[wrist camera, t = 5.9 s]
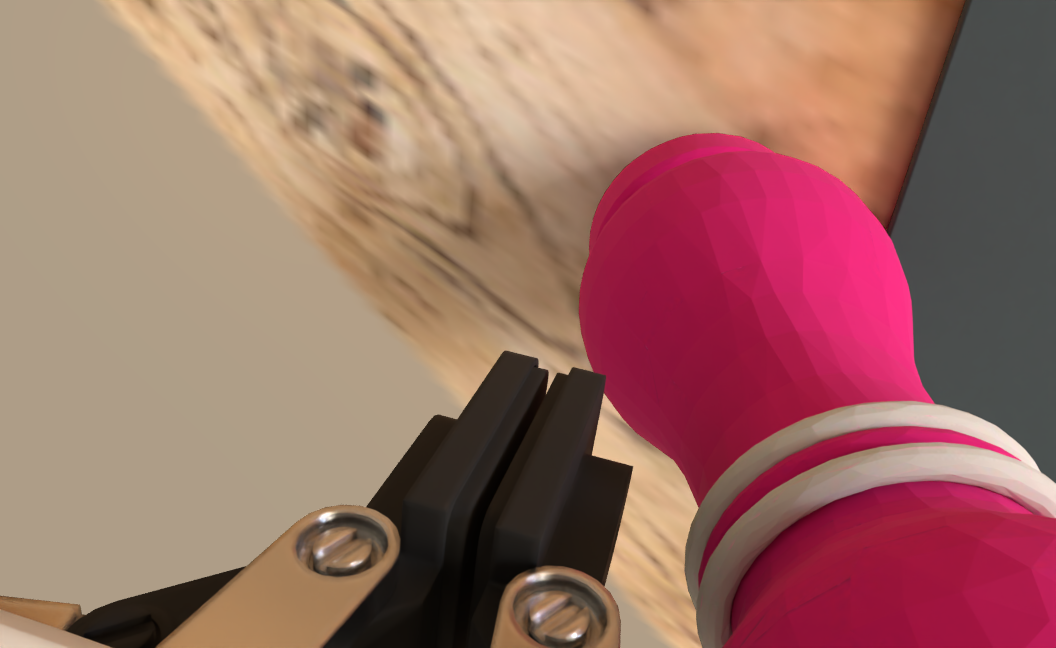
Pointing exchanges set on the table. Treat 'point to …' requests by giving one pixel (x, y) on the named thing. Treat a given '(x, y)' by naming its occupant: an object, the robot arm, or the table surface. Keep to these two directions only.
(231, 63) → the table surface
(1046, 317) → the mat
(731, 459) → the pepper mill
